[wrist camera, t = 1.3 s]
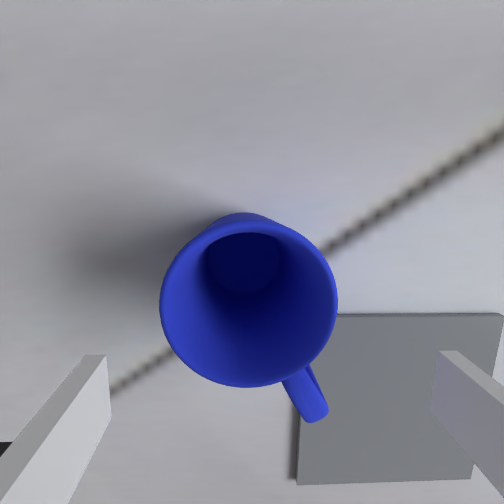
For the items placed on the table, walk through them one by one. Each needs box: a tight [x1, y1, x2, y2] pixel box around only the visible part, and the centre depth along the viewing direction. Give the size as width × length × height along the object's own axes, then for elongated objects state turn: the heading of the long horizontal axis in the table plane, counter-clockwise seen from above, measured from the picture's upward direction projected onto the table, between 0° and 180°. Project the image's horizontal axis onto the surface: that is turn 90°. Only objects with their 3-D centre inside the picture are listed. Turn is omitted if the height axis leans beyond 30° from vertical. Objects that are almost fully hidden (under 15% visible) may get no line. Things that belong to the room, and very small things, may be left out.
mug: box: [159, 213, 338, 423], centre depth 20 cm, size 8×12×10 cm
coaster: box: [296, 313, 504, 485], centre depth 28 cm, size 16×16×1 cm
